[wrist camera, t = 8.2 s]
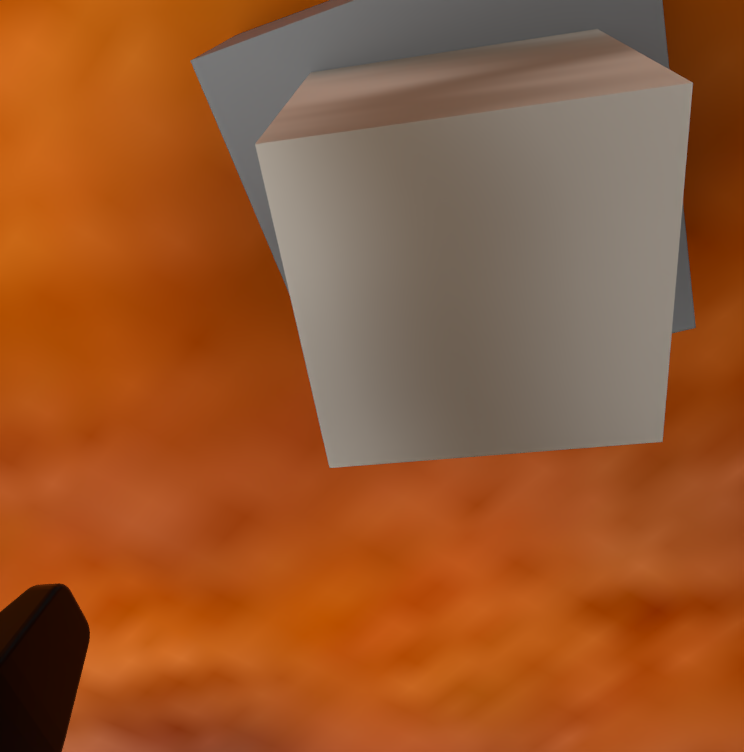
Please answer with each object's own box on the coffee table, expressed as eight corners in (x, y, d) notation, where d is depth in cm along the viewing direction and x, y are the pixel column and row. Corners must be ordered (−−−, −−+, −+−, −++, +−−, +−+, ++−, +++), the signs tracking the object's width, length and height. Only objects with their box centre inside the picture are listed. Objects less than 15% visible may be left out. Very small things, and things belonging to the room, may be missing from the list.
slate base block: (597, -100, 14) (651, -110, 11) (644, 254, 18) (695, 327, 15) (239, 33, 16) (190, 61, 13) (353, 330, 20) (339, 412, 17)
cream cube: (597, 29, 12) (693, 82, 8) (592, 293, 15) (662, 441, 10) (310, 72, 13) (254, 143, 8) (355, 319, 15) (329, 467, 11)
